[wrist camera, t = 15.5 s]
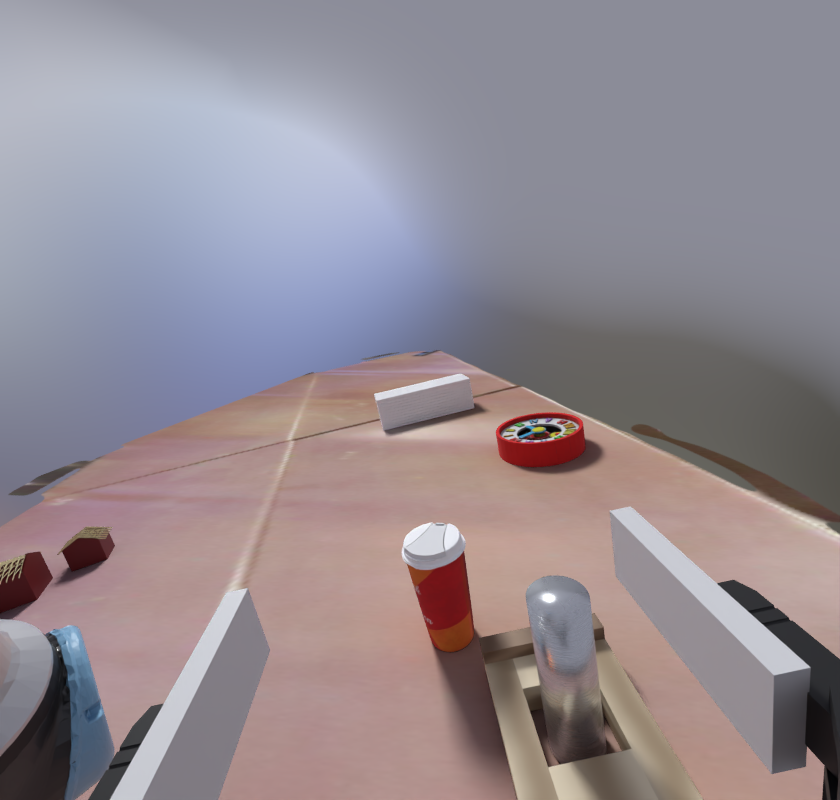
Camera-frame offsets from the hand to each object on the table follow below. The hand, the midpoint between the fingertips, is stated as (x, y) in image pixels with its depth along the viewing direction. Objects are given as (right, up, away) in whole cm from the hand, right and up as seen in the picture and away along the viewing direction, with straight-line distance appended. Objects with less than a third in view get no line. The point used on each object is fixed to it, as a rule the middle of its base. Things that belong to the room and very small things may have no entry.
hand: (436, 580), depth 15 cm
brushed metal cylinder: (+14, -25, +23) cm, 37 cm away
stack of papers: (+2, +1, +131) cm, 131 cm away
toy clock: (+29, -6, +86) cm, 91 cm away
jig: (+14, -25, +23) cm, 37 cm away
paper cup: (+3, -23, +38) cm, 45 cm away
